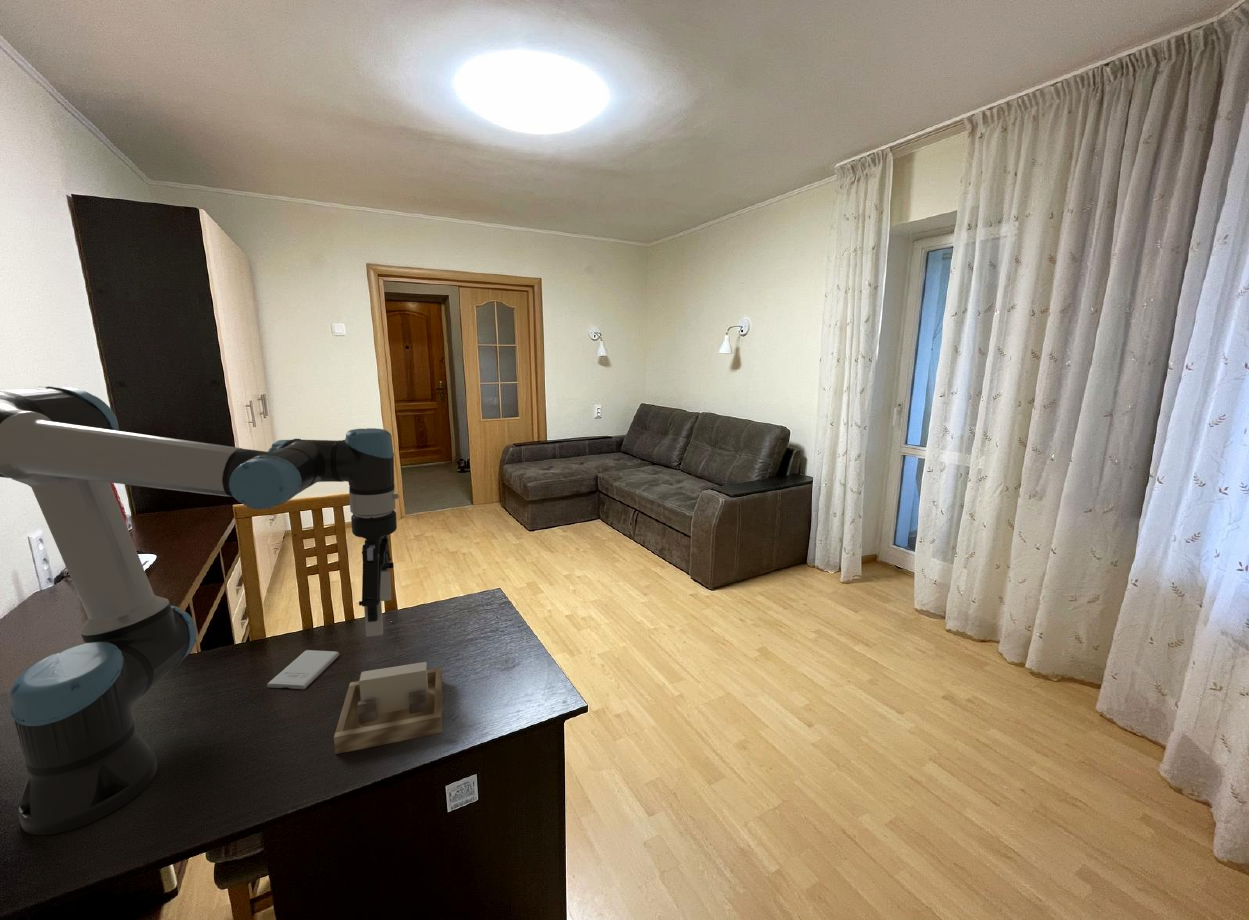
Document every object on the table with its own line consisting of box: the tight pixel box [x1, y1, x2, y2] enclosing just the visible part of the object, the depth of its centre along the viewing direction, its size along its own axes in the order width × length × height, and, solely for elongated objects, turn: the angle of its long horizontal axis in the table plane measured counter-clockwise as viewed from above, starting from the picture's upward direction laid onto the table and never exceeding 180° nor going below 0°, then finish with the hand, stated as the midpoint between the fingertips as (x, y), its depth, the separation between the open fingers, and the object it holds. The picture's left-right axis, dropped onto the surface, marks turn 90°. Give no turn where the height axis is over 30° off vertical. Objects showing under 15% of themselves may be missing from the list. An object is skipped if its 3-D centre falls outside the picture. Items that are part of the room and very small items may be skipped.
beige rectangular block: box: [358, 661, 428, 714], centre depth 100 cm, size 12×3×8 cm, turn 109°
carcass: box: [333, 667, 443, 755], centre depth 99 cm, size 18×16×5 cm
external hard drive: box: [266, 649, 340, 690], centre depth 112 cm, size 2×8×12 cm
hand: (379, 616), depth 97 cm, fingers open, 13 cm apart
